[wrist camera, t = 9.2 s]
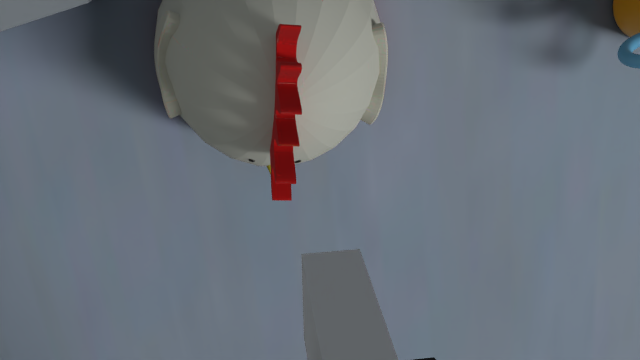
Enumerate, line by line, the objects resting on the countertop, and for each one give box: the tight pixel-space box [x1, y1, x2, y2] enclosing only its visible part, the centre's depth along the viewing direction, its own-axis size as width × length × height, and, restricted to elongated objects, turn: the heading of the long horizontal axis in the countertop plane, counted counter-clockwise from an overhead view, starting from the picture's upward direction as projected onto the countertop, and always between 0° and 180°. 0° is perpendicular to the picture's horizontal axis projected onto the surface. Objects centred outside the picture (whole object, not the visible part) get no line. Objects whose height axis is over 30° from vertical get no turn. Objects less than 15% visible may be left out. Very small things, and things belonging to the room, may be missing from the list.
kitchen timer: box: [154, 0, 388, 200], centre depth 33 cm, size 14×14×15 cm
